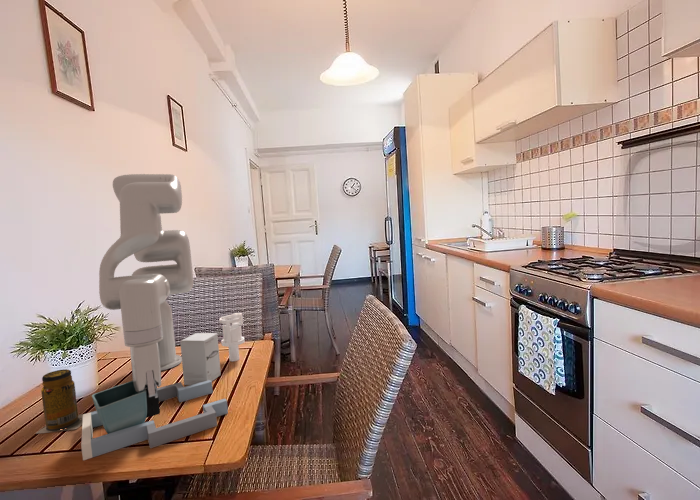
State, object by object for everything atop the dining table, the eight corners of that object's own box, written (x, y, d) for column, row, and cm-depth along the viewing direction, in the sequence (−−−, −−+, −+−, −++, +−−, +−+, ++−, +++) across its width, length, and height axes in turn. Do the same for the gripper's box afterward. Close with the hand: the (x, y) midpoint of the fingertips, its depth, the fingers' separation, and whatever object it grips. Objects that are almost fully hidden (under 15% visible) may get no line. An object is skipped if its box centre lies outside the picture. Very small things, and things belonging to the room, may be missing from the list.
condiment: (57, 417, 91) (51, 368, 90) (94, 414, 92) (89, 365, 91) (35, 434, 84) (28, 381, 83) (76, 430, 84) (69, 377, 83)
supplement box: (207, 386, 104) (203, 340, 103) (183, 385, 105) (178, 340, 104) (221, 375, 111) (218, 332, 110) (198, 374, 112) (195, 332, 111)
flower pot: (105, 450, 76) (97, 408, 75) (98, 433, 83) (90, 394, 82) (153, 430, 82) (146, 390, 81) (143, 415, 88) (136, 378, 87)
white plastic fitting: (242, 363, 119) (238, 316, 118) (219, 364, 120) (215, 317, 118) (248, 355, 126) (245, 310, 125) (227, 356, 127) (223, 311, 125)
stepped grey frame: (84, 420, 89) (83, 407, 88) (207, 385, 104) (206, 375, 104) (82, 471, 70) (80, 455, 69) (233, 420, 85) (232, 407, 85)
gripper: (121, 331, 89) (129, 407, 90) (126, 347, 76) (136, 435, 78) (157, 324, 93) (164, 397, 94) (167, 338, 80) (176, 422, 82)
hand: (151, 414), depth 86 cm, fingers closed
